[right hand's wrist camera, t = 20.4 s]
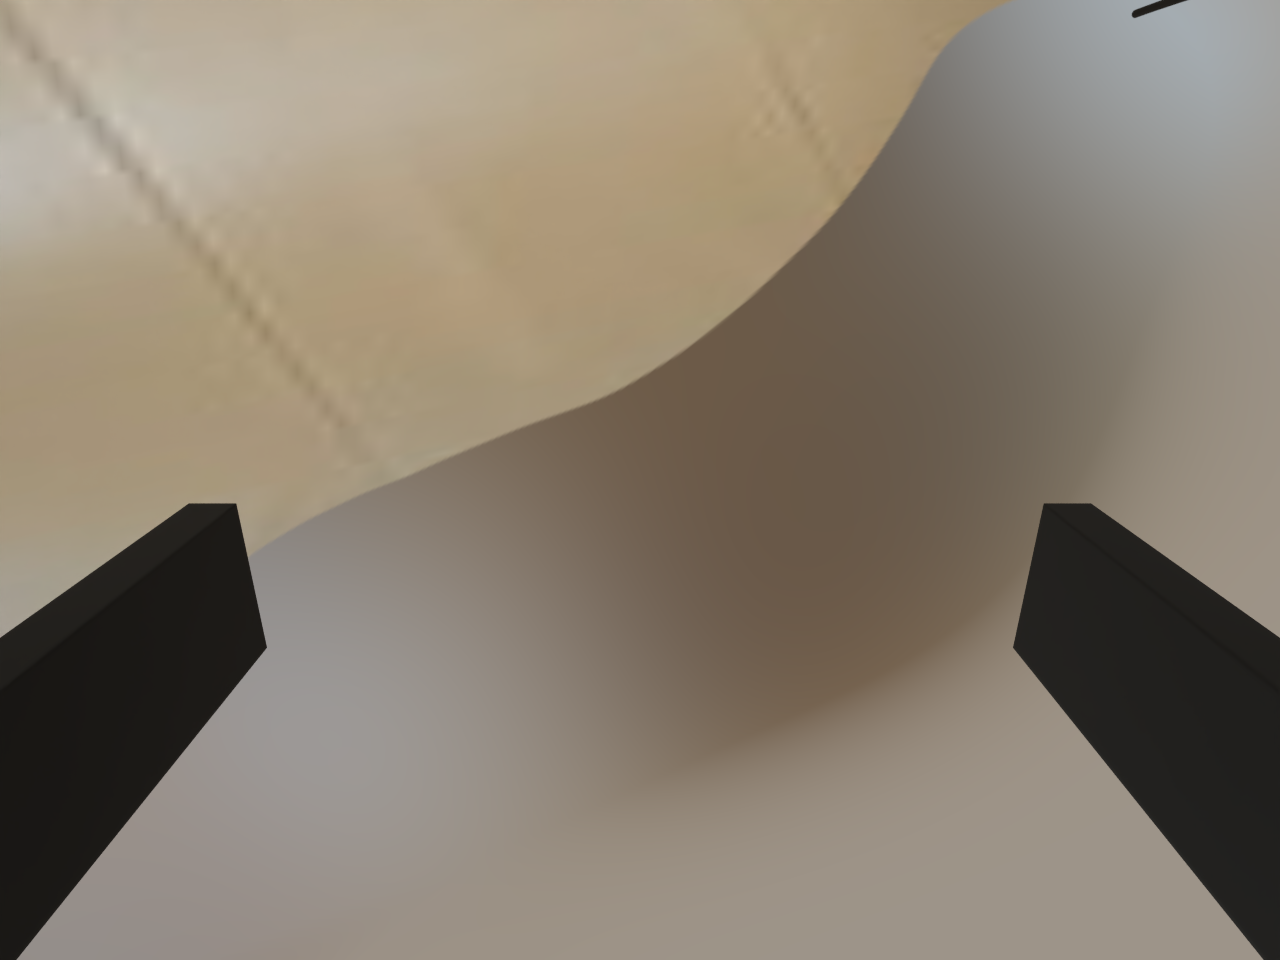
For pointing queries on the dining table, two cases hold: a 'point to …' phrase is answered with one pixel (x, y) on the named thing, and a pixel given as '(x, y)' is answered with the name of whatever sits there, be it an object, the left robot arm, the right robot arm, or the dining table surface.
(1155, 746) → the right robot arm
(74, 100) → the dining table surface
